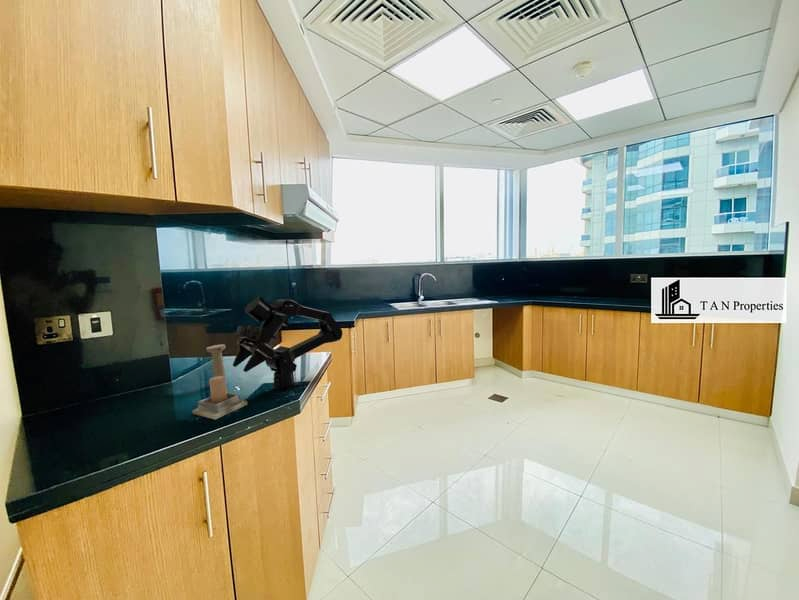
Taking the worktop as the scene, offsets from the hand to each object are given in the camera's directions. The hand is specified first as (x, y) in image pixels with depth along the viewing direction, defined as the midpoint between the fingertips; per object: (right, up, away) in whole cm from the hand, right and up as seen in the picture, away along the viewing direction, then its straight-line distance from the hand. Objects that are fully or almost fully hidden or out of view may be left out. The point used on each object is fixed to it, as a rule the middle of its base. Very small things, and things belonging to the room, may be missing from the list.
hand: (238, 368), depth 107 cm
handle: (-17, -10, +20) cm, 28 cm away
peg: (-4, -11, -4) cm, 12 cm away
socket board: (-4, -12, -4) cm, 13 cm away
